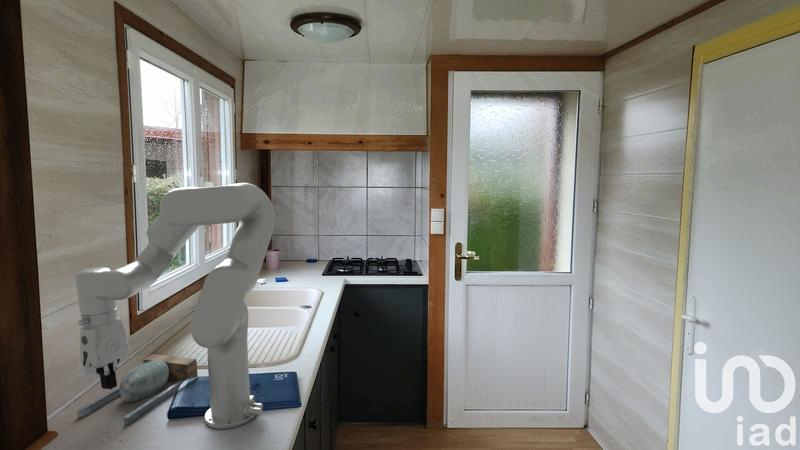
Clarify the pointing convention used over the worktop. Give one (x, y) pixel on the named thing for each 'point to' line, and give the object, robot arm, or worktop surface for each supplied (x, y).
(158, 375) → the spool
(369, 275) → the worktop surface
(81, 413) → the guide rails
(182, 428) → the worktop surface
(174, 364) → the end stop
